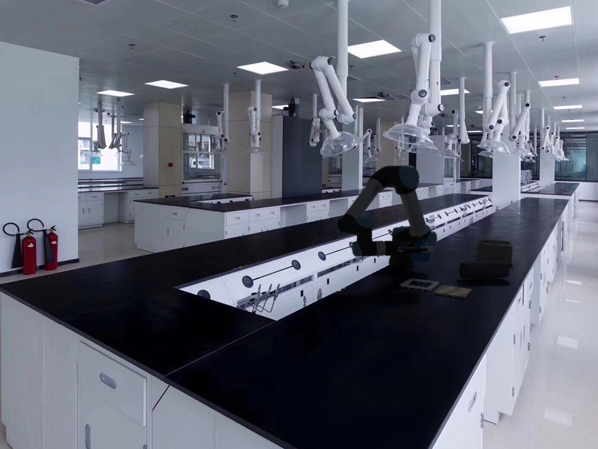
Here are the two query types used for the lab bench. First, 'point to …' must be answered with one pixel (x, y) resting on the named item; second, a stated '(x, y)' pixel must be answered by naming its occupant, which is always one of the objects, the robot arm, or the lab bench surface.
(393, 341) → the lab bench surface
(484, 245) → the geiger counter
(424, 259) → the perfume bottle
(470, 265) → the bluetooth speaker
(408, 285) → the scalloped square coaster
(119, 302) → the lab bench surface
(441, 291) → the beige square cloth
